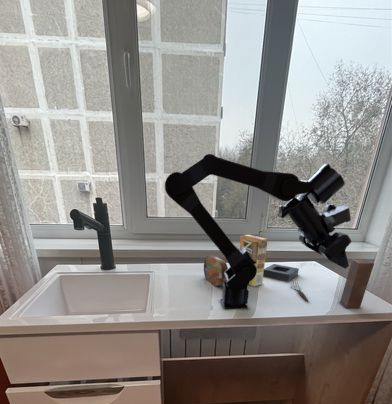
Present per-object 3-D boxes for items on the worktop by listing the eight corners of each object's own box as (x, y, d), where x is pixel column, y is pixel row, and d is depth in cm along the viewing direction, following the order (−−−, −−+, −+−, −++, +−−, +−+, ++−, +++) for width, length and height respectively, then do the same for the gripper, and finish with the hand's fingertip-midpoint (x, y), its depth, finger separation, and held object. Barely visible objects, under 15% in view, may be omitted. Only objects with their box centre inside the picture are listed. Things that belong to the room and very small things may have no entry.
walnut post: (346, 308, 82) (359, 263, 75) (339, 302, 85) (352, 259, 79) (359, 308, 82) (374, 263, 75) (352, 302, 85) (366, 259, 79)
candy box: (262, 284, 98) (268, 238, 90) (253, 287, 96) (259, 239, 88) (245, 277, 104) (249, 234, 97) (236, 279, 102) (240, 235, 95)
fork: (302, 302, 85) (304, 296, 84) (289, 284, 99) (290, 279, 98) (311, 303, 85) (313, 296, 84) (296, 284, 99) (297, 279, 98)
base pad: (288, 281, 101) (289, 274, 100) (262, 276, 106) (263, 269, 105) (297, 274, 109) (298, 268, 107) (272, 270, 114) (273, 263, 112)
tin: (202, 275, 105) (203, 252, 101) (210, 275, 106) (211, 252, 102) (219, 289, 93) (221, 264, 89) (228, 288, 94) (230, 263, 90)
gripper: (354, 195, 61) (387, 249, 66) (319, 191, 77) (348, 234, 83) (310, 234, 64) (345, 281, 70) (285, 222, 81) (315, 261, 86)
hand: (338, 262), depth 77 cm, fingers open, 9 cm apart
